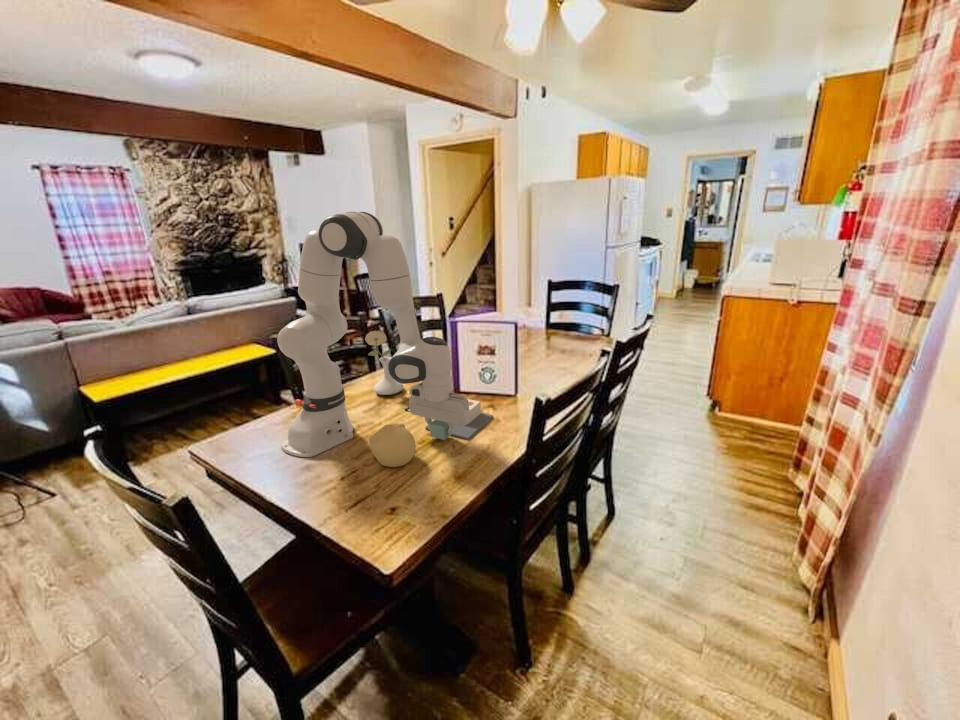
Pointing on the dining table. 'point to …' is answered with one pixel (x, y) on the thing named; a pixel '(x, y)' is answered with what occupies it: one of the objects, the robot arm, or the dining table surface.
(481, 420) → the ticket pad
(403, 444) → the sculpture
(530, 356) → the dining table surface
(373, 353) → the flower in vase
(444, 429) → the stub
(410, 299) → the robot arm
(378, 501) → the dining table surface
